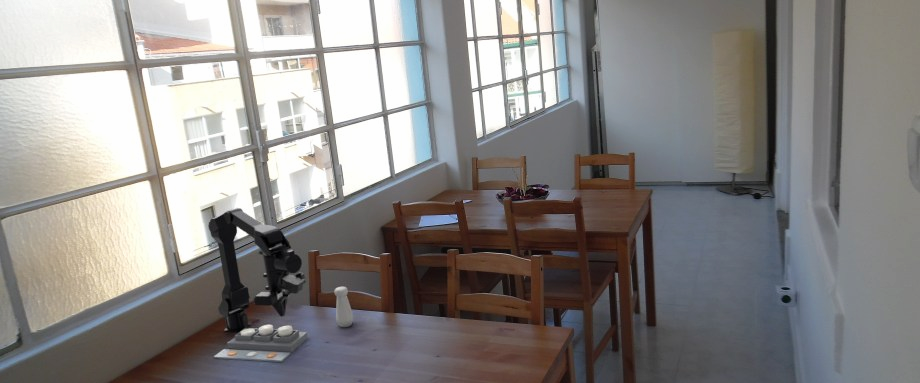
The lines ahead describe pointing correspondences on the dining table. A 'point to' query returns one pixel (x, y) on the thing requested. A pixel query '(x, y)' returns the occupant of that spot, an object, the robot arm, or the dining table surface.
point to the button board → (268, 341)
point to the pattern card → (252, 355)
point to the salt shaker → (343, 308)
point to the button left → (247, 332)
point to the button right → (285, 331)
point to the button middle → (266, 330)
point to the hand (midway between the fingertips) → (282, 316)
